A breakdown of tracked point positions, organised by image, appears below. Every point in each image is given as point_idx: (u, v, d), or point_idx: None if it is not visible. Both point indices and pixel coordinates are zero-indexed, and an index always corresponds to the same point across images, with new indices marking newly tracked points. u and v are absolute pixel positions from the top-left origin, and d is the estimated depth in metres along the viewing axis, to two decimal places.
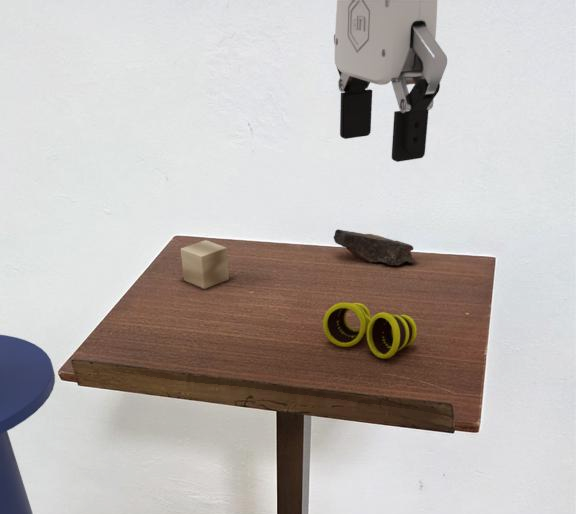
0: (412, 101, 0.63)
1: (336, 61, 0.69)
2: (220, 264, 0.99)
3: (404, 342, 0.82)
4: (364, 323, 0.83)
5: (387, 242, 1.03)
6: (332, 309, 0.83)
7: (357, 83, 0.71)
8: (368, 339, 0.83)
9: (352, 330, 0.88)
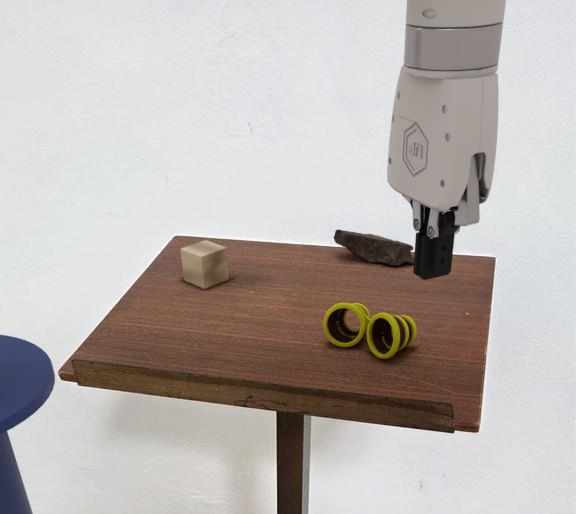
0: (440, 229, 0.66)
1: (389, 179, 0.68)
2: (220, 264, 0.99)
3: (404, 342, 0.82)
4: (364, 323, 0.83)
5: (387, 242, 1.03)
6: (332, 309, 0.83)
7: None
8: (368, 339, 0.83)
9: (352, 330, 0.87)
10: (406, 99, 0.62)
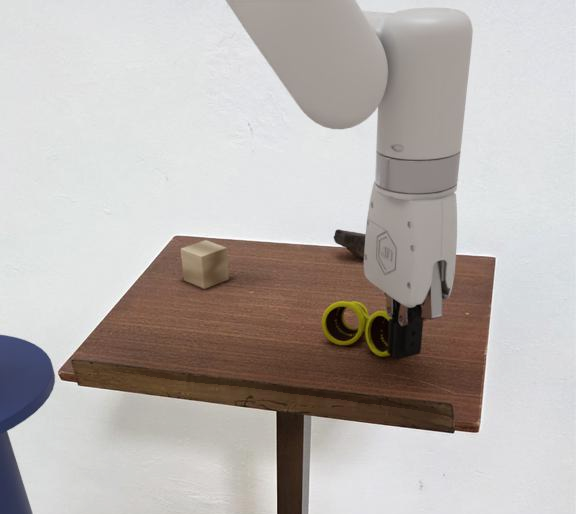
0: (409, 318, 0.75)
1: (365, 272, 0.77)
2: (220, 264, 0.99)
3: None
4: (363, 321, 0.83)
5: None
6: (330, 308, 0.84)
7: None
8: (367, 337, 0.84)
9: (350, 329, 0.88)
10: (378, 210, 0.71)
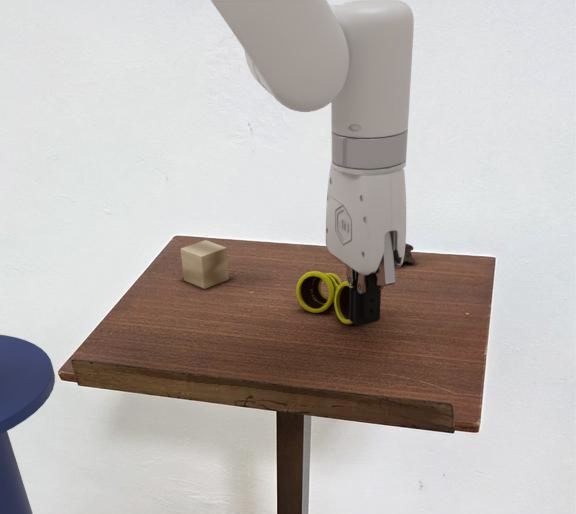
0: (367, 287, 0.81)
1: (327, 245, 0.83)
2: (220, 264, 0.99)
3: None
4: (332, 291, 0.90)
5: None
6: (304, 277, 0.91)
7: None
8: (335, 306, 0.90)
9: (325, 298, 0.95)
10: (335, 185, 0.77)
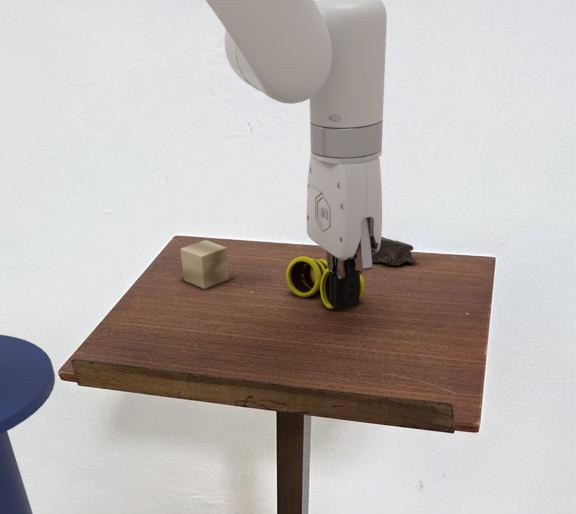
0: (346, 272, 0.85)
1: (308, 232, 0.86)
2: (220, 264, 0.99)
3: None
4: (319, 276, 0.94)
5: (387, 242, 1.03)
6: (293, 262, 0.95)
7: None
8: (321, 290, 0.94)
9: None
10: (315, 174, 0.81)
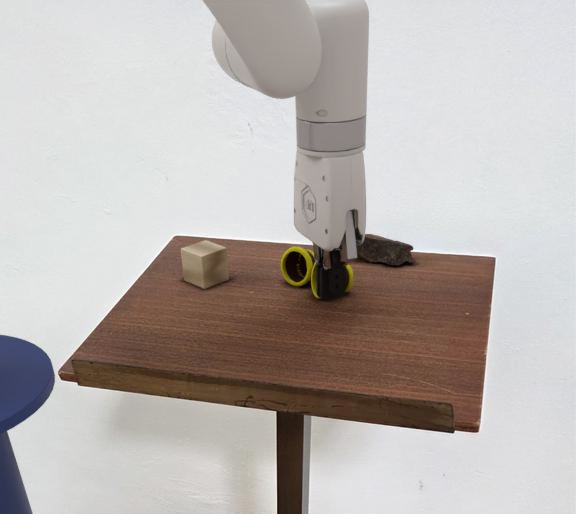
0: (332, 263, 0.87)
1: (295, 224, 0.89)
2: (220, 264, 0.99)
3: None
4: (310, 266, 0.96)
5: (387, 242, 1.03)
6: (287, 251, 0.97)
7: None
8: (311, 280, 0.97)
9: None
10: (301, 168, 0.83)
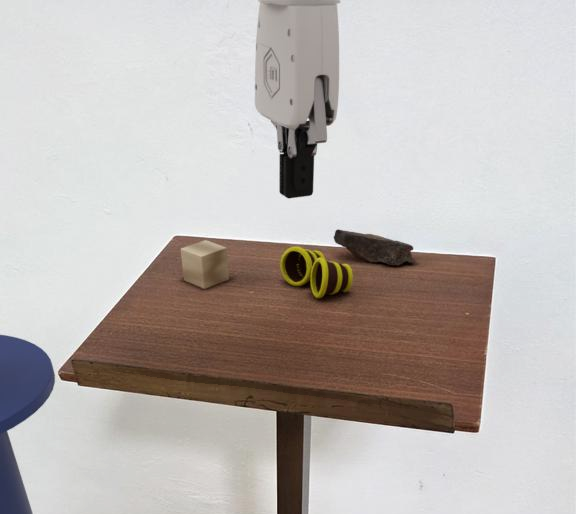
0: (297, 149, 0.74)
1: (256, 104, 0.76)
2: (220, 264, 0.99)
3: (336, 286, 0.94)
4: (310, 266, 0.96)
5: (387, 242, 1.03)
6: (287, 251, 0.97)
7: None
8: (311, 280, 0.97)
9: None
10: (263, 27, 0.70)
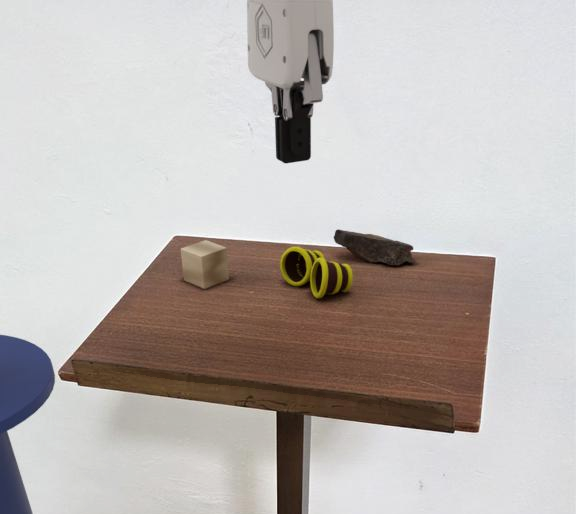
0: (293, 110, 0.72)
1: (249, 66, 0.73)
2: (220, 264, 0.99)
3: (336, 286, 0.94)
4: (310, 266, 0.96)
5: (387, 242, 1.03)
6: (286, 251, 0.97)
7: None
8: (310, 280, 0.97)
9: None
10: None
